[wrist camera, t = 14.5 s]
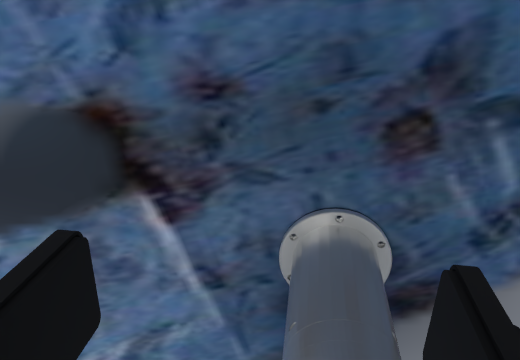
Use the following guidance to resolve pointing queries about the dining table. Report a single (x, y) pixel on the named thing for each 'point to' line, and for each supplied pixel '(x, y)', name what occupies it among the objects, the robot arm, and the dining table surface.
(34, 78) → the dining table surface
